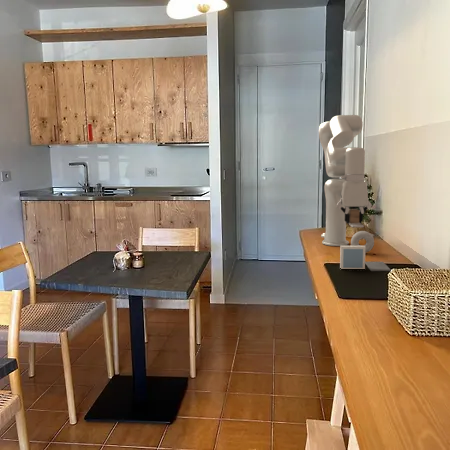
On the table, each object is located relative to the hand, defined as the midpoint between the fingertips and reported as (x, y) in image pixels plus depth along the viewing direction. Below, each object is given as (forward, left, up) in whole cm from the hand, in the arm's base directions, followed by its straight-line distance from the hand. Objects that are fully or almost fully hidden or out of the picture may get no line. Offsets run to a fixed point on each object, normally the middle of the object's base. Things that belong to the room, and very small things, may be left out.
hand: (353, 222), depth 185 cm
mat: (+14, -2, -16) cm, 21 cm away
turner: (+3, -2, -1) cm, 3 cm away
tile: (+10, -11, -16) cm, 22 cm away
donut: (-6, +12, -16) cm, 21 cm away
